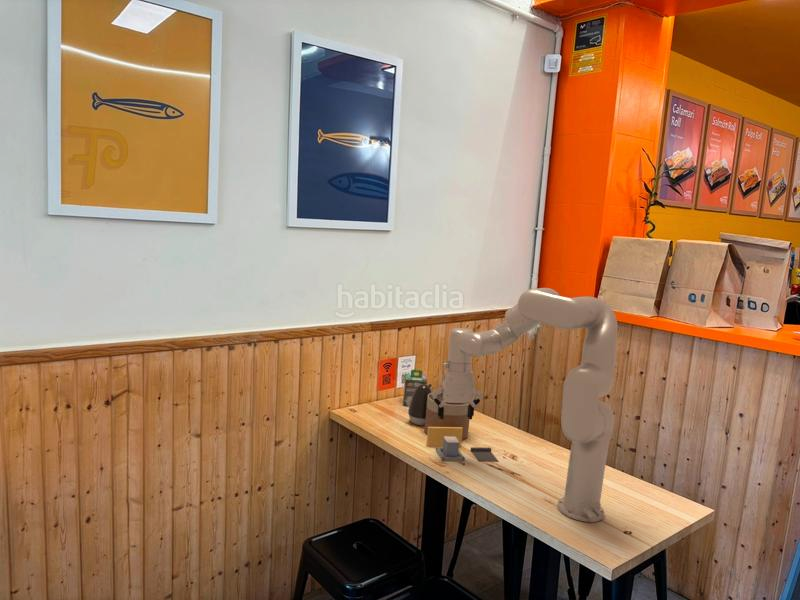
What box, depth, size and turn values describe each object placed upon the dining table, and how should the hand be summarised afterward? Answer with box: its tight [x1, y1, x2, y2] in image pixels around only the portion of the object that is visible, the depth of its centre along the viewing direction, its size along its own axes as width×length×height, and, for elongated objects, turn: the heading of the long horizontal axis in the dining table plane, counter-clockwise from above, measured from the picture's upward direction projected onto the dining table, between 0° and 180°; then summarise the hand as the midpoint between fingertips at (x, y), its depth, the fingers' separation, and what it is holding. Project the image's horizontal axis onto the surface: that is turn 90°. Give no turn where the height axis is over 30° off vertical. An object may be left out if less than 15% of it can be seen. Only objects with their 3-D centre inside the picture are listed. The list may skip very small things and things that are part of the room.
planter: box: [424, 393, 470, 441], centre depth 211 cm, size 16×16×14 cm
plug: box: [442, 436, 460, 457], centre depth 192 cm, size 5×4×6 cm
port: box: [426, 427, 466, 462], centre depth 194 cm, size 13×12×7 cm
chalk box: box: [402, 369, 428, 407], centre depth 244 cm, size 9×9×15 cm
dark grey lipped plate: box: [470, 446, 499, 463], centre depth 194 cm, size 9×7×2 cm
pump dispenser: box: [407, 383, 433, 427], centre depth 221 cm, size 10×10×15 cm
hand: (455, 418), depth 190 cm, fingers open, 9 cm apart
